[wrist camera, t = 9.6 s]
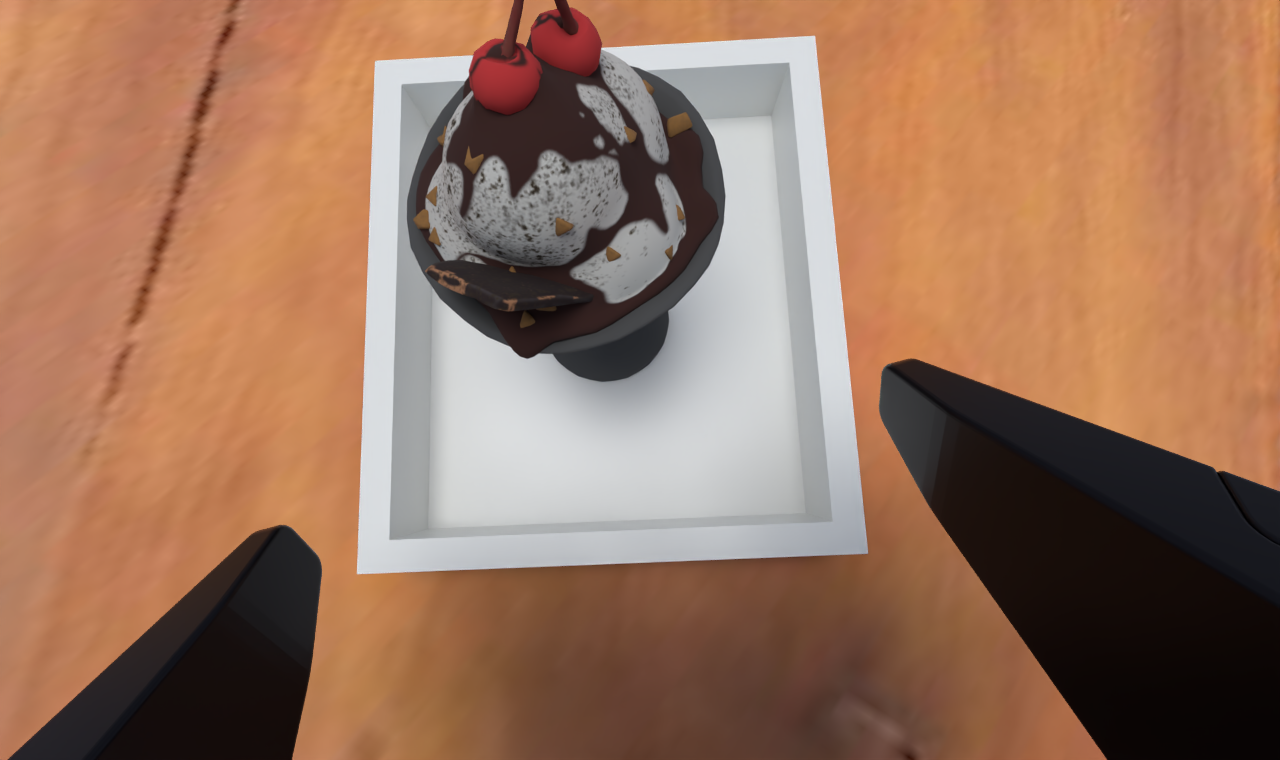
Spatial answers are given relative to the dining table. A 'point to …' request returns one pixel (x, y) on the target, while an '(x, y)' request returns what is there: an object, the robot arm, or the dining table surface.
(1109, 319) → the dining table surface
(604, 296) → the sundae
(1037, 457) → the robot arm
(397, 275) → the tray
